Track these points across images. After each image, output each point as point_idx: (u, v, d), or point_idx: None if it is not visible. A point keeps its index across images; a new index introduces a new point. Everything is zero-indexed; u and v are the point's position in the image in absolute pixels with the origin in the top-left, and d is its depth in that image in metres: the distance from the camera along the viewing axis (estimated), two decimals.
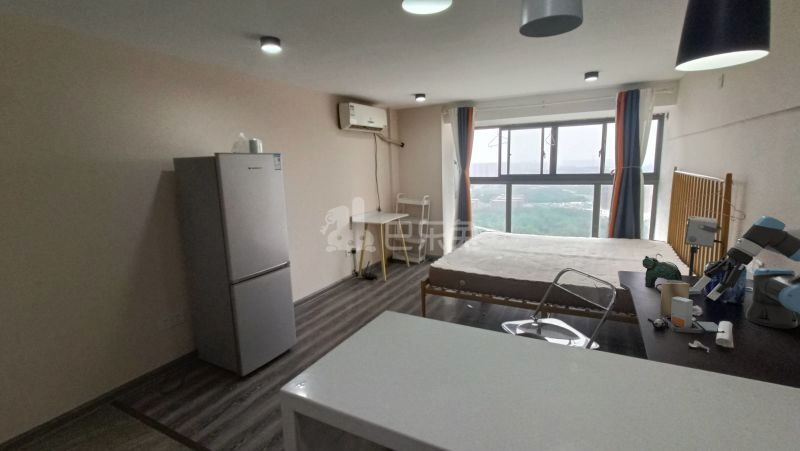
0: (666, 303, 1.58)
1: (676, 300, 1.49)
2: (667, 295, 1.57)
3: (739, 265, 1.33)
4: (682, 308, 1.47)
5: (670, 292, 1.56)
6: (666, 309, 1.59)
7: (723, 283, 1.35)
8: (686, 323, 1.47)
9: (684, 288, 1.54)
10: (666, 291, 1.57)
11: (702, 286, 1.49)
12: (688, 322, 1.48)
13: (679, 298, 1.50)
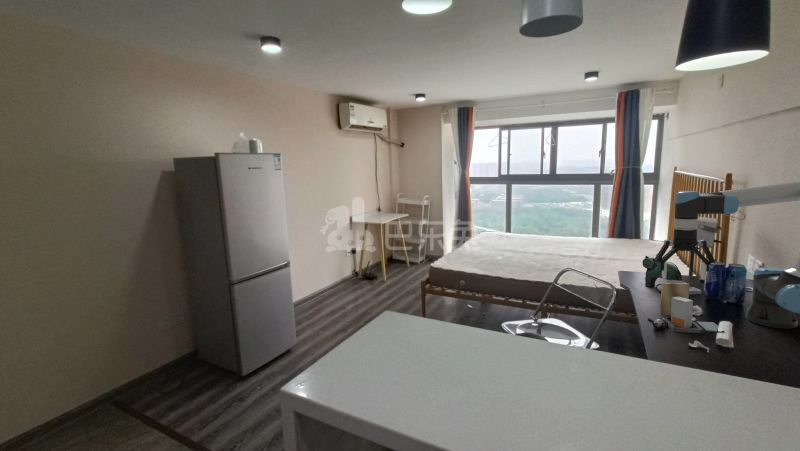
0: (666, 303, 1.58)
1: (676, 300, 1.49)
2: (667, 295, 1.57)
3: (664, 241, 1.49)
4: (683, 308, 1.47)
5: (670, 292, 1.56)
6: (666, 309, 1.59)
7: None
8: (686, 323, 1.47)
9: (684, 288, 1.54)
10: (666, 291, 1.57)
11: (703, 274, 1.45)
12: (688, 322, 1.48)
13: (679, 298, 1.50)
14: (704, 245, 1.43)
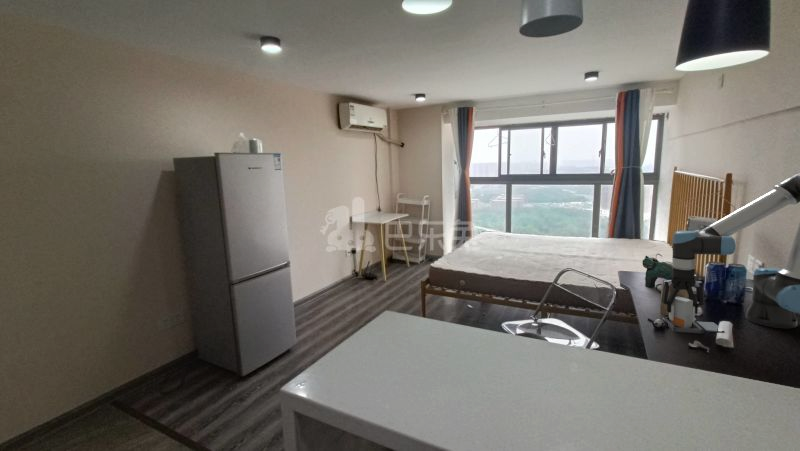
0: None
1: (676, 300, 1.49)
2: None
3: (663, 282, 1.51)
4: (683, 308, 1.47)
5: (670, 292, 1.56)
6: None
7: None
8: (686, 322, 1.47)
9: None
10: None
11: None
12: (688, 322, 1.48)
13: (679, 298, 1.50)
14: (700, 287, 1.46)
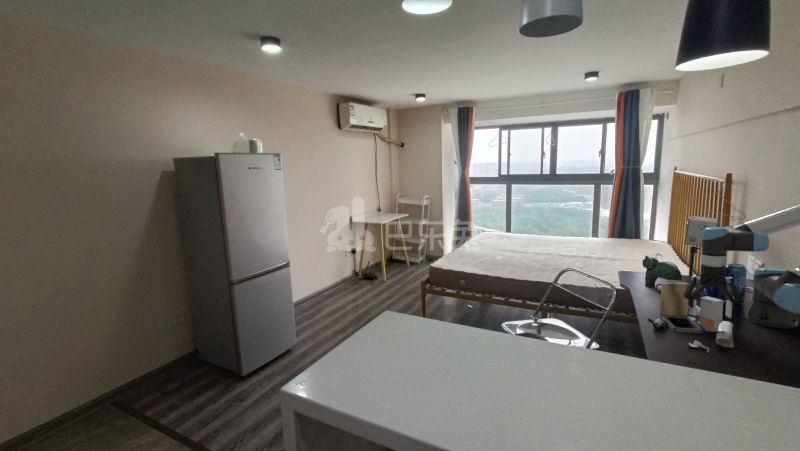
0: (666, 303, 1.58)
1: (705, 300, 1.46)
2: (667, 295, 1.57)
3: (691, 277, 1.48)
4: (712, 308, 1.44)
5: (670, 292, 1.56)
6: (666, 309, 1.59)
7: None
8: (716, 323, 1.44)
9: (684, 288, 1.54)
10: (666, 291, 1.57)
11: (728, 312, 1.44)
12: (718, 322, 1.44)
13: (708, 298, 1.46)
14: (732, 282, 1.42)
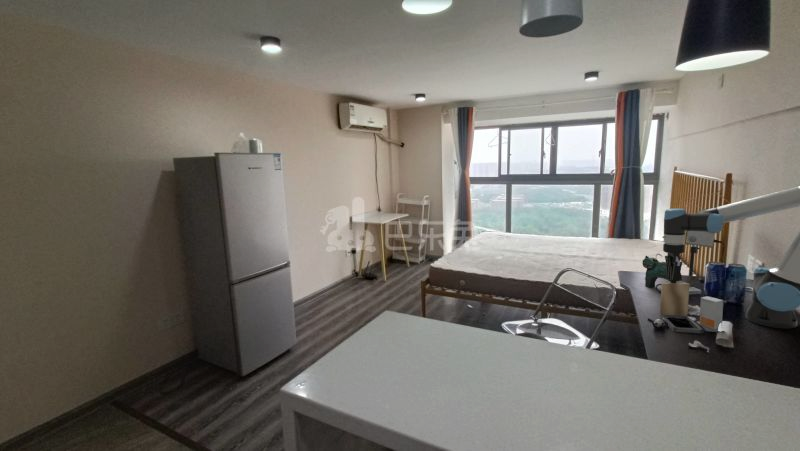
0: (666, 303, 1.58)
1: (705, 300, 1.46)
2: (667, 295, 1.57)
3: (676, 264, 1.52)
4: (712, 308, 1.44)
5: (670, 292, 1.56)
6: (666, 309, 1.59)
7: (671, 280, 1.57)
8: (716, 323, 1.44)
9: (684, 288, 1.54)
10: (666, 291, 1.57)
11: None
12: (718, 322, 1.44)
13: (708, 298, 1.46)
14: None
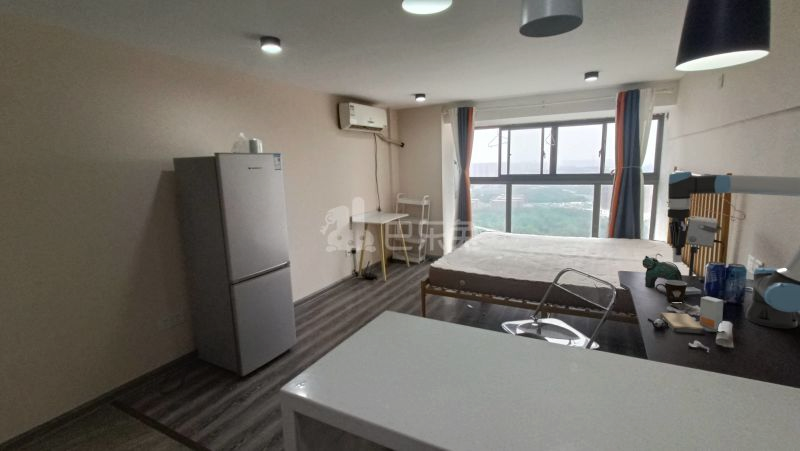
0: None
1: (705, 300, 1.46)
2: None
3: (681, 228, 1.46)
4: (712, 308, 1.44)
5: None
6: None
7: (676, 247, 1.51)
8: (716, 323, 1.44)
9: None
10: None
11: None
12: (718, 322, 1.44)
13: (709, 298, 1.46)
14: None
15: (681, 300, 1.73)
